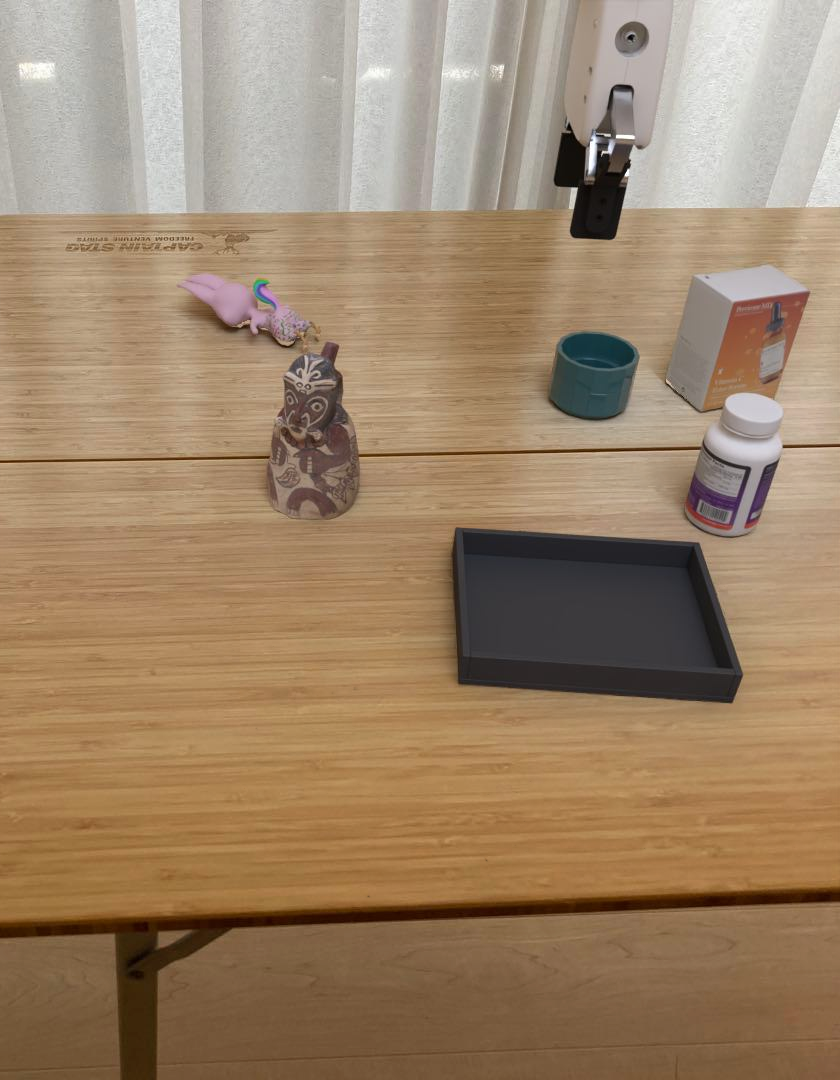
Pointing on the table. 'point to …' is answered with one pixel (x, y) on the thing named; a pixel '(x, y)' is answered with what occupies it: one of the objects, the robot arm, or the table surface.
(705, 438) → the pill bottle
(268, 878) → the table surface
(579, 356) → the cup
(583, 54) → the robot arm
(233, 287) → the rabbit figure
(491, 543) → the tray
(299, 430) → the figurine
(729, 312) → the small box
